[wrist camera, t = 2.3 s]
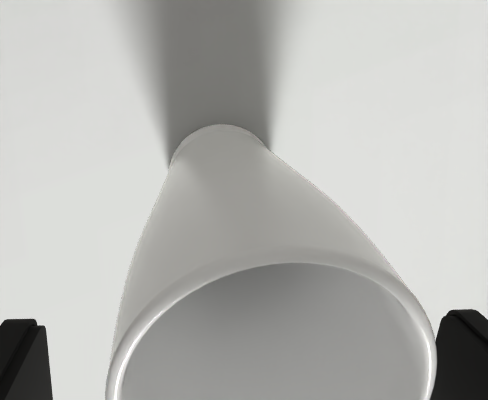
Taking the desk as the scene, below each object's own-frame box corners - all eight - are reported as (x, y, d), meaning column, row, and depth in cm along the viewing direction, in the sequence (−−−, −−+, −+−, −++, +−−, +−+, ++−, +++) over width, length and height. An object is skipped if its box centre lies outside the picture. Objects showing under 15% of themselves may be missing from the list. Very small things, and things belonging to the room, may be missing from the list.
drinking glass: (171, 242, 23) (149, 549, 9) (139, 120, 21) (45, 293, 7) (291, 217, 24) (442, 477, 10) (275, 95, 21) (448, 209, 7)
